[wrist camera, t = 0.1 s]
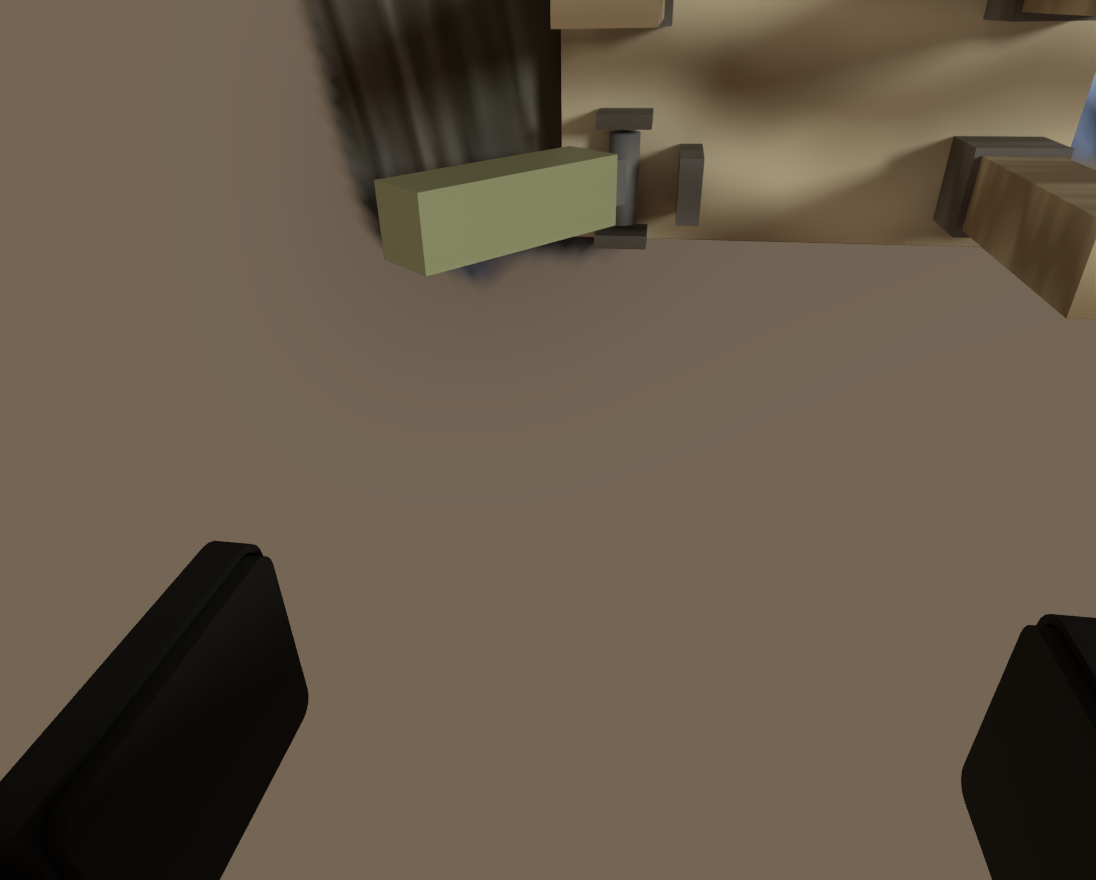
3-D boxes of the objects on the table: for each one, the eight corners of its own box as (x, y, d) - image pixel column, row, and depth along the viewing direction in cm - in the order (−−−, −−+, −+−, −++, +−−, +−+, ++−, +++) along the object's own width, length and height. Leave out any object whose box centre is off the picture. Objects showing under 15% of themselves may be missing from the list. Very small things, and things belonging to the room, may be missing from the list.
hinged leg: (612, 127, 34) (371, 166, 27) (660, 134, 32) (415, 178, 25) (609, 213, 37) (386, 271, 29) (655, 225, 35) (427, 289, 27)
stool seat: (564, -108, 31) (489, -173, 19) (1143, -131, 28) (1500, -226, 16) (565, 228, 38) (512, 337, 26) (1024, 239, 35) (1207, 369, 23)
